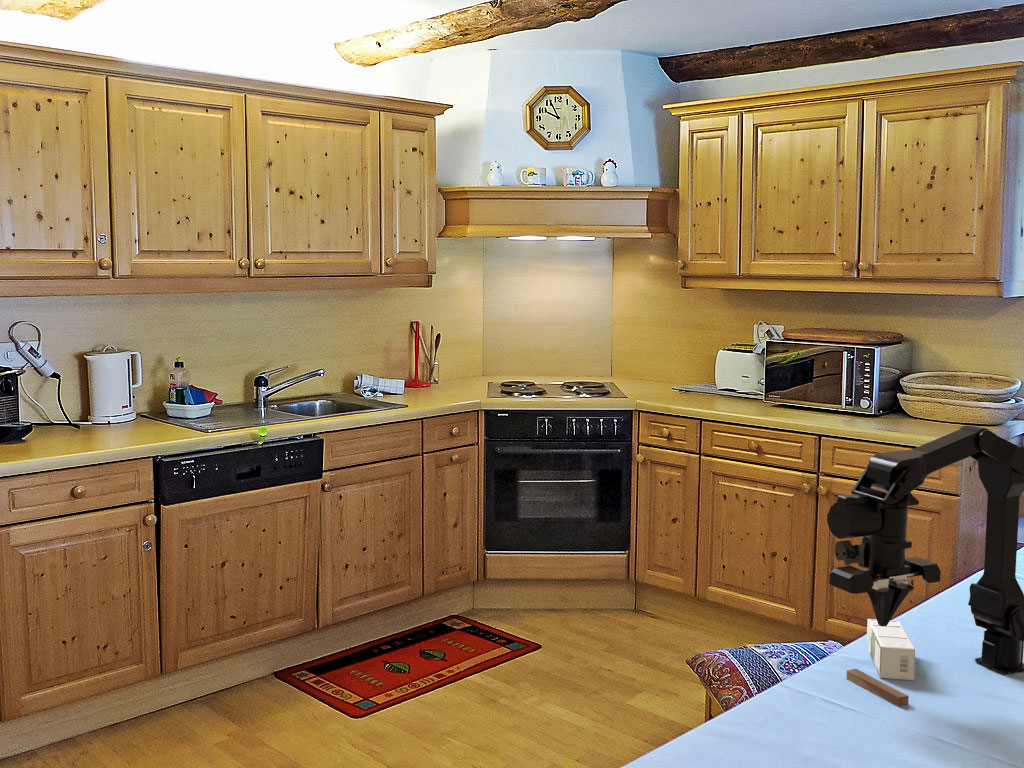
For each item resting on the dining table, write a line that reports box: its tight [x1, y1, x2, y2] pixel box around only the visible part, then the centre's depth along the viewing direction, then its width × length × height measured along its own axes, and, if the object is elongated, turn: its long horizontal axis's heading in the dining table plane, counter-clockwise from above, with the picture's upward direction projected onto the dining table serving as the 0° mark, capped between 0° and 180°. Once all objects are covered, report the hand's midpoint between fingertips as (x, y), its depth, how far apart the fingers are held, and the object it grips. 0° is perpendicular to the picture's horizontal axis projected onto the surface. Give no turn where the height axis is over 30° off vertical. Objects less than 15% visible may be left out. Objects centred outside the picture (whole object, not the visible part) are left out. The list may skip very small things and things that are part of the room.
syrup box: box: [866, 618, 916, 681], centre depth 182 cm, size 6×6×14 cm
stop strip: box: [845, 668, 910, 708], centre depth 171 cm, size 2×12×2 cm, turn 23°
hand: (882, 625), depth 170 cm, fingers closed
